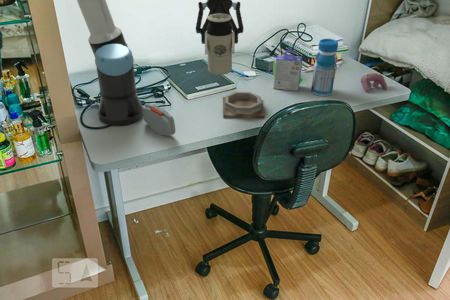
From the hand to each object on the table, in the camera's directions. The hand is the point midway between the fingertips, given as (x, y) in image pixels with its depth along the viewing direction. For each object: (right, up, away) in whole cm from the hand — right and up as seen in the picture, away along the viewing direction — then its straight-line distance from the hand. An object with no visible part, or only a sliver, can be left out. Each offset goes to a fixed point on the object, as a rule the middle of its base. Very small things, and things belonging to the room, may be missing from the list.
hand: (219, 52), depth 141 cm
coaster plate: (+8, -16, +17) cm, 25 cm away
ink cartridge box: (+26, -7, +33) cm, 42 cm away
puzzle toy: (+25, 0, +43) cm, 50 cm away
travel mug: (0, -5, +7) cm, 8 cm away
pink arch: (+59, -7, +33) cm, 68 cm away
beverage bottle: (+39, -9, +30) cm, 50 cm away
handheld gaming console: (-20, -25, +4) cm, 32 cm away
